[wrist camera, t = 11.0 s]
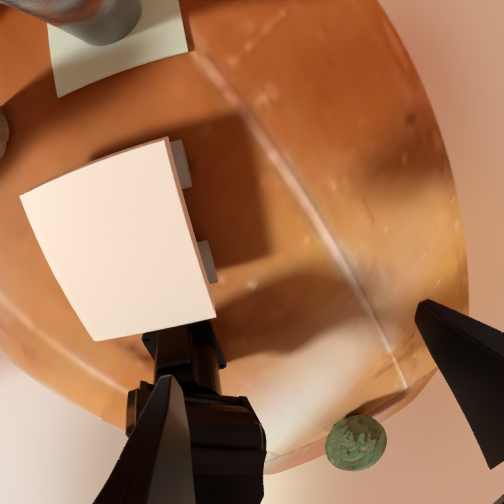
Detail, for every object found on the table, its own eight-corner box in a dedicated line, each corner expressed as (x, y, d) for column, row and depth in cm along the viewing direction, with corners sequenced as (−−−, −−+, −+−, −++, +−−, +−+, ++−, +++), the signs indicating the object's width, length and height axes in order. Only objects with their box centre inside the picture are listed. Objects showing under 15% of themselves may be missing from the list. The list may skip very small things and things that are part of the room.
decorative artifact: (323, 435, 42) (341, 480, 34) (306, 427, 39) (325, 479, 30) (373, 407, 41) (396, 452, 32) (362, 396, 38) (388, 448, 29)
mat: (188, 52, 14) (188, 51, 14) (60, 97, 14) (57, 97, 13) (169, -49, 10) (169, -52, 10) (48, -4, 9) (46, -6, 9)
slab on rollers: (217, 272, 22) (224, 315, 18) (103, 299, 22) (89, 342, 17) (180, 129, 17) (174, 137, 12) (49, 175, 16) (14, 198, 12)
